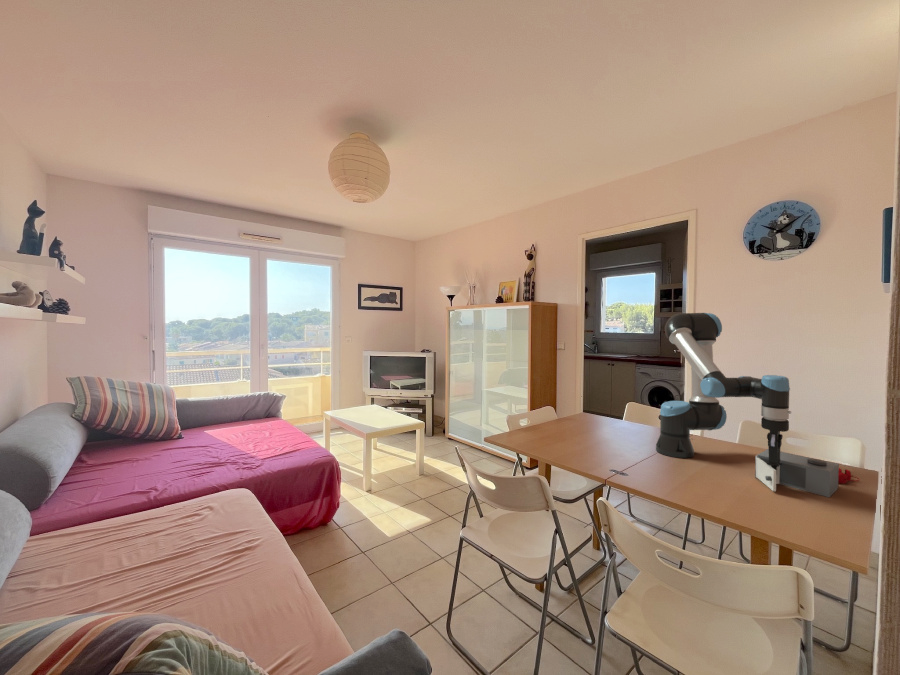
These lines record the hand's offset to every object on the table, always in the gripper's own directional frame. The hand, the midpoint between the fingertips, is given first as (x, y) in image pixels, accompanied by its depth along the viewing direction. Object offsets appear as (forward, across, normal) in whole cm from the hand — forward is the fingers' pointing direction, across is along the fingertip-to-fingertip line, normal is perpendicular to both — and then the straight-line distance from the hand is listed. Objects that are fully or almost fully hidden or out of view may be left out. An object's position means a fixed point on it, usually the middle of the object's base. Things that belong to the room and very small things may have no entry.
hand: (774, 482), depth 136 cm
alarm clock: (+3, +26, -14) cm, 29 cm away
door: (+1, -1, +3) cm, 3 cm away
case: (+2, +10, -5) cm, 12 cm away
